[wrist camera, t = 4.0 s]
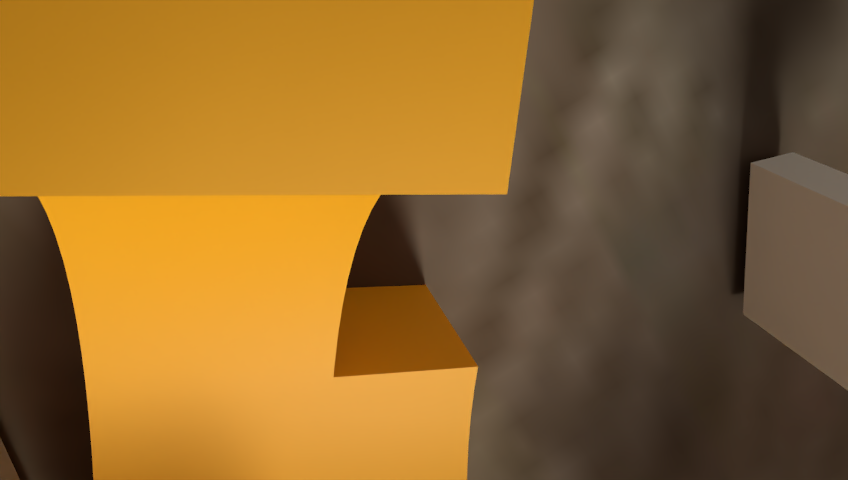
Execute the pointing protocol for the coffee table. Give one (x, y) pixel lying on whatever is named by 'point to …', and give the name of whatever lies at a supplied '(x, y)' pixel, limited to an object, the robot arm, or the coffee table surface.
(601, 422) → the coffee table surface
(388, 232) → the coffee table surface
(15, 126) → the pipe clamp
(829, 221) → the robot arm
